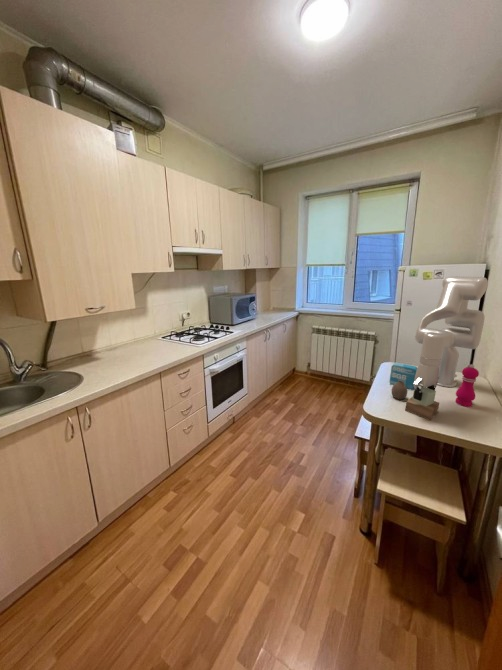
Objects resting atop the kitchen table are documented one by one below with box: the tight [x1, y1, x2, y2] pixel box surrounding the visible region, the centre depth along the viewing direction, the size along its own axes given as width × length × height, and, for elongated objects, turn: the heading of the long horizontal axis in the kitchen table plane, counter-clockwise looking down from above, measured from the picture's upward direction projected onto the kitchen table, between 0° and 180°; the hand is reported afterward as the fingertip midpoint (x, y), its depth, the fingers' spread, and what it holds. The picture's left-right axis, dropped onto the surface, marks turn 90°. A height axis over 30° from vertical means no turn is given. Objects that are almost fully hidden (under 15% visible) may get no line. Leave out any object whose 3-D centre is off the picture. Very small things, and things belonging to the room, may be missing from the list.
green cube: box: [412, 386, 437, 407], centre depth 118 cm, size 6×6×6 cm
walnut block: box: [404, 396, 440, 421], centre depth 119 cm, size 10×10×5 cm
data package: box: [389, 362, 418, 390], centre depth 144 cm, size 12×4×12 cm, turn 52°
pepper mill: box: [455, 363, 480, 408], centre depth 123 cm, size 7×7×20 cm
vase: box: [391, 381, 408, 400], centre depth 131 cm, size 7×7×9 cm
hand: (423, 397), depth 118 cm, fingers open, 8 cm apart
